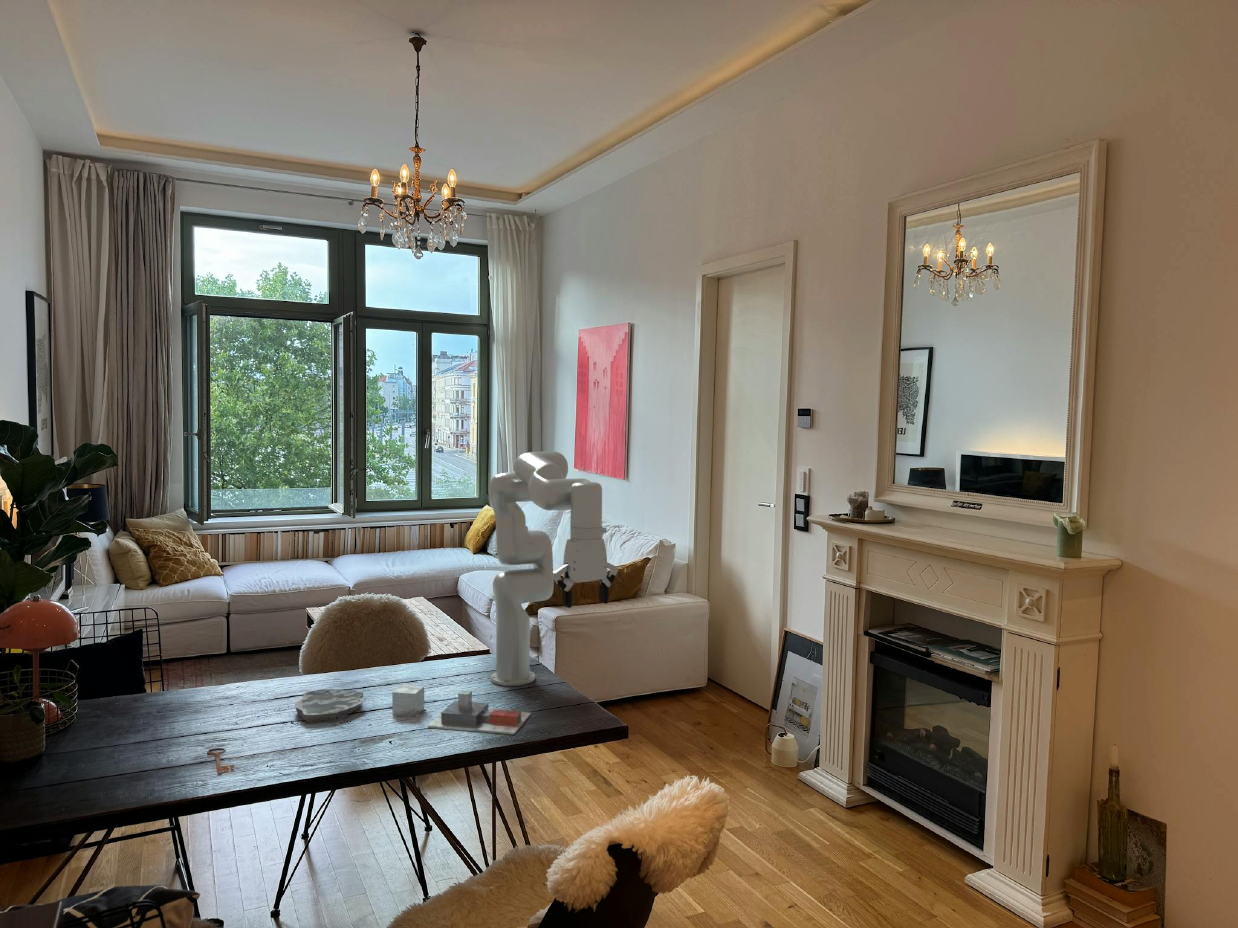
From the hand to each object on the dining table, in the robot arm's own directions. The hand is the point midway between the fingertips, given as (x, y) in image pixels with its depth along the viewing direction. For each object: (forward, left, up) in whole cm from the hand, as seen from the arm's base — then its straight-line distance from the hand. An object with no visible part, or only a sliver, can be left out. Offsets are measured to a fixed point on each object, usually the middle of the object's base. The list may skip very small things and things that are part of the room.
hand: (585, 604), depth 209 cm
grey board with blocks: (-1, -27, -31) cm, 41 cm away
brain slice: (0, -67, -32) cm, 74 cm away
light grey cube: (-3, -47, -31) cm, 56 cm away
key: (+34, -74, -32) cm, 87 cm away
